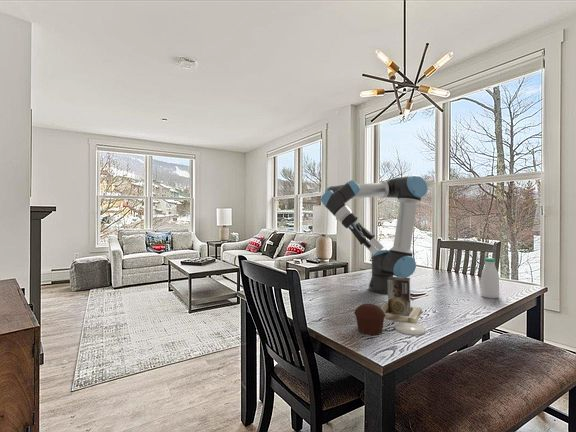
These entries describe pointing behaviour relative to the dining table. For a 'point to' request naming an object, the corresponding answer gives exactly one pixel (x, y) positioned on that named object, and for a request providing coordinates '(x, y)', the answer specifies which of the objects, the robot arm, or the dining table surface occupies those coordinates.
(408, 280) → the coffee box
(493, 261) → the milk bottle
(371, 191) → the robot arm
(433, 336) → the dining table surface
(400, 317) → the holder board
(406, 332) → the coaster
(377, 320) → the muffin
